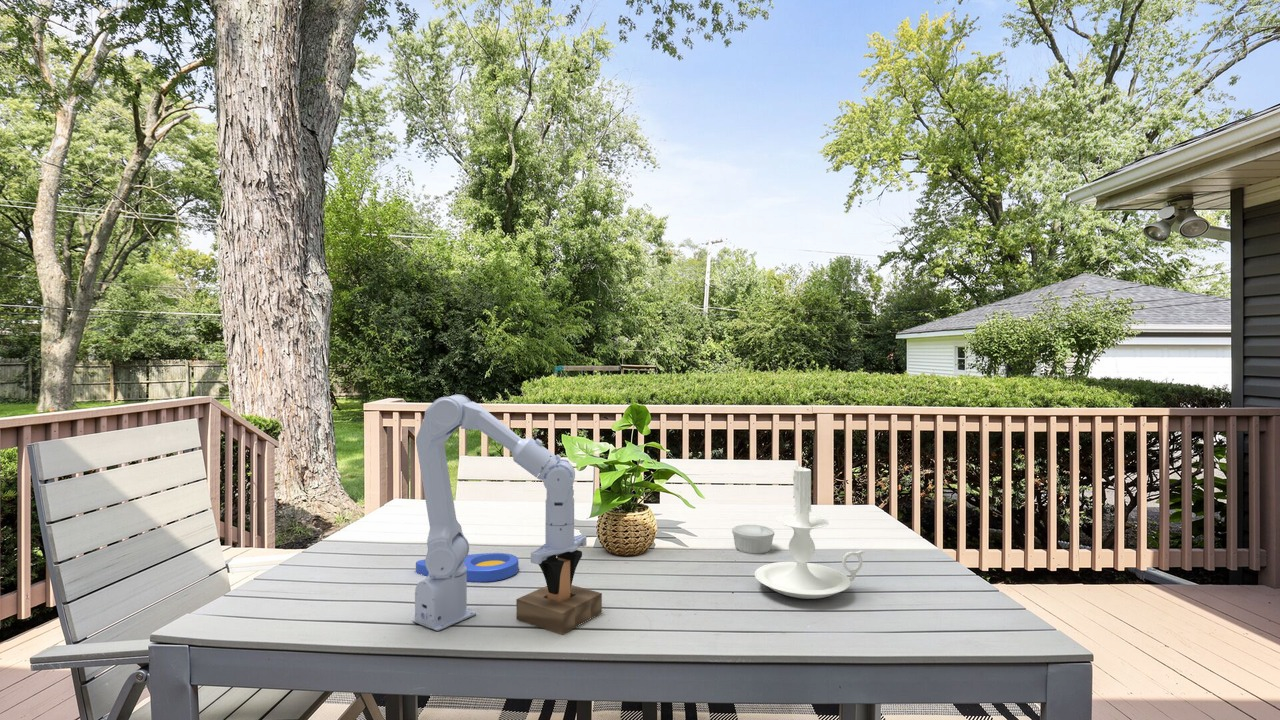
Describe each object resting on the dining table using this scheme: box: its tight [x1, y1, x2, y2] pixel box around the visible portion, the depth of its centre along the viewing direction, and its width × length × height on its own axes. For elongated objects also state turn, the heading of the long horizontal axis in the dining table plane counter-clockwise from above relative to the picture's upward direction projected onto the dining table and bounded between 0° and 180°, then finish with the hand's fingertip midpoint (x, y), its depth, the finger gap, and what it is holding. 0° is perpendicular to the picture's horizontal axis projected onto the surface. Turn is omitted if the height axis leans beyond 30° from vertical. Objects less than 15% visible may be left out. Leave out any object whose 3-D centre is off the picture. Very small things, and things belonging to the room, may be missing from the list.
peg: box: [548, 558, 570, 603], centre depth 122 cm, size 3×3×8 cm
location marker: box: [415, 552, 520, 583], centre depth 148 cm, size 13×3×25 cm
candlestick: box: [754, 465, 865, 600], centre depth 136 cm, size 21×25×28 cm
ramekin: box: [731, 524, 775, 555], centre depth 167 cm, size 11×11×5 cm
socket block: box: [515, 584, 603, 635], centre depth 122 cm, size 12×12×4 cm
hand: (559, 590), depth 122 cm, fingers closed on peg, 3 cm apart
